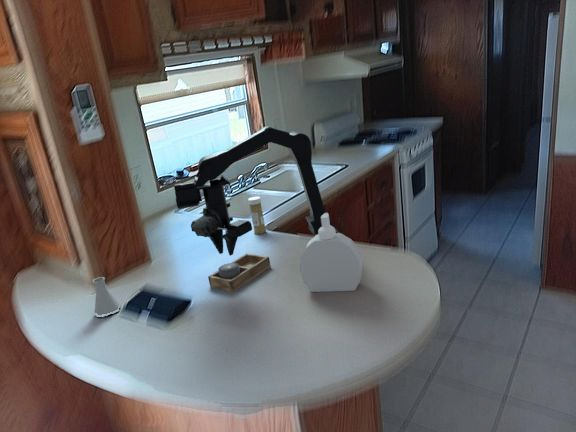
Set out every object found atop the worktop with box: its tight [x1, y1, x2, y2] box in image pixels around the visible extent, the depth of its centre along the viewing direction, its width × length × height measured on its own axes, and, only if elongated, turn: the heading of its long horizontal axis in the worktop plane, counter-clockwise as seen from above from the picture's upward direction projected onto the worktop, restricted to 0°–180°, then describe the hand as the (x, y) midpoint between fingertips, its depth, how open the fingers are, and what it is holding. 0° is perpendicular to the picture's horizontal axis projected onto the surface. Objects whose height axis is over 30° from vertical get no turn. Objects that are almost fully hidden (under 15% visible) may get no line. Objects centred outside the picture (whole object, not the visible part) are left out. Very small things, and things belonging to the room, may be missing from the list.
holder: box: [207, 253, 271, 293], centre depth 139 cm, size 9×17×3 cm, turn 145°
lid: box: [217, 262, 240, 280], centre depth 136 cm, size 6×6×4 cm
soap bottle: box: [299, 212, 364, 293], centre depth 122 cm, size 16×5×20 cm, turn 78°
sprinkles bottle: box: [247, 196, 267, 235], centre depth 173 cm, size 5×5×13 cm
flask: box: [91, 276, 120, 315], centre depth 129 cm, size 7×7×10 cm
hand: (226, 254), depth 134 cm, fingers open, 4 cm apart
